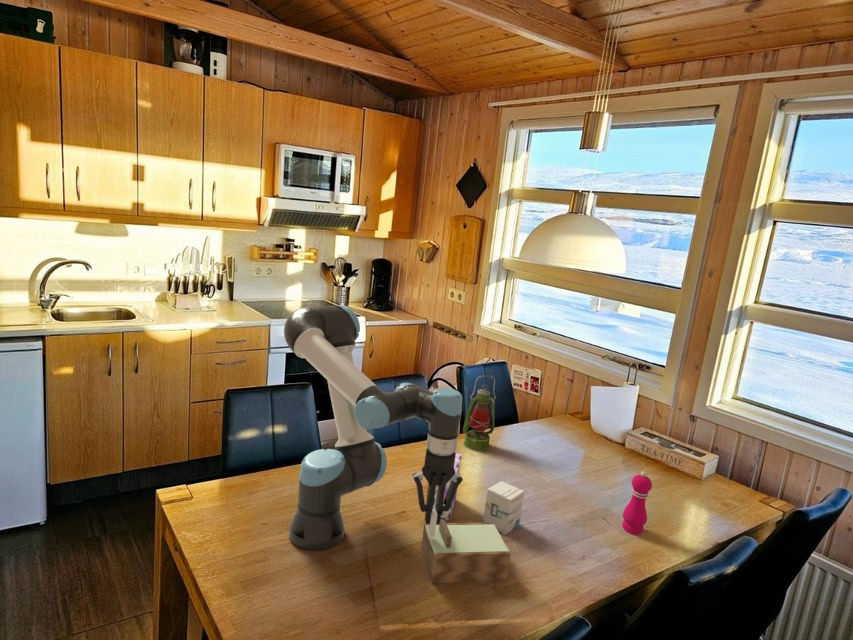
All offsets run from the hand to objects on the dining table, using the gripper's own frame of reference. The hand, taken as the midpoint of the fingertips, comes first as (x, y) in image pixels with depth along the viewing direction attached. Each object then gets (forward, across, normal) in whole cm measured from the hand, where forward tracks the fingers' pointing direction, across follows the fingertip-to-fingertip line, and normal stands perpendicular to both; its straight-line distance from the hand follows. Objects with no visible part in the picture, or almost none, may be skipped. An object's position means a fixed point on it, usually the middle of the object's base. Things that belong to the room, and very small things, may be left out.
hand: (430, 534), depth 146 cm
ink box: (+10, +28, +20) cm, 36 cm away
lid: (+2, +10, 0) cm, 10 cm away
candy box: (+10, +12, +29) cm, 33 cm away
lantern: (+10, +36, +76) cm, 85 cm away
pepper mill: (+10, +71, +17) cm, 74 cm away
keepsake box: (+10, +10, 0) cm, 14 cm away
